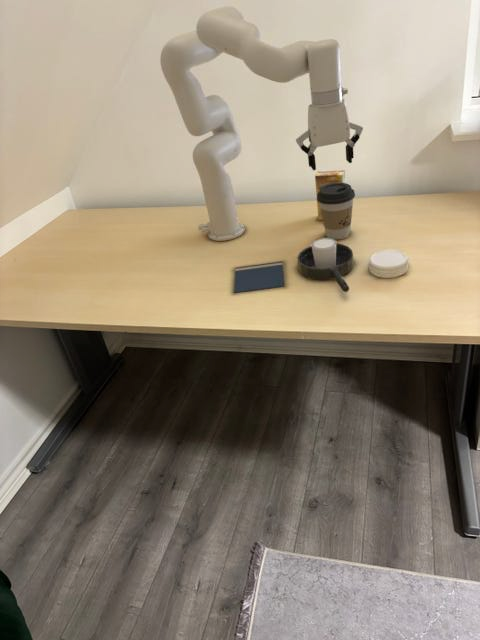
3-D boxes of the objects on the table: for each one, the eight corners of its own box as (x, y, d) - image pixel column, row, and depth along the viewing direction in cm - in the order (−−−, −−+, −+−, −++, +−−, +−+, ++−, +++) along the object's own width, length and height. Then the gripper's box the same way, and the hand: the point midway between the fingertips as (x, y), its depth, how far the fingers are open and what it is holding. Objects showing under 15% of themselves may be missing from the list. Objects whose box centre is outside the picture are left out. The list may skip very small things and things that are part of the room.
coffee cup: (339, 246, 149) (337, 198, 141) (312, 237, 157) (307, 191, 148) (364, 231, 154) (363, 184, 146) (336, 223, 162) (333, 178, 154)
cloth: (234, 293, 137) (233, 292, 137) (235, 268, 149) (235, 267, 148) (284, 286, 135) (284, 285, 135) (282, 262, 147) (282, 261, 147)
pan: (300, 283, 135) (299, 272, 133) (296, 257, 148) (295, 247, 146) (357, 276, 134) (357, 265, 132) (348, 250, 146) (348, 239, 144)
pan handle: (329, 272, 133) (329, 266, 132) (336, 271, 134) (335, 265, 133) (343, 293, 124) (342, 287, 123) (350, 292, 124) (350, 286, 123)
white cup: (335, 257, 143) (333, 235, 139) (340, 269, 137) (338, 246, 134) (311, 261, 144) (309, 240, 140) (315, 273, 138) (313, 251, 134)
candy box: (318, 220, 166) (314, 175, 158) (320, 215, 169) (317, 171, 161) (344, 220, 163) (342, 174, 154) (347, 214, 166) (344, 169, 158)
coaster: (392, 256, 139) (392, 245, 137) (415, 270, 131) (416, 259, 129) (361, 267, 137) (361, 256, 135) (383, 283, 129) (383, 271, 127)
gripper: (356, 87, 126) (359, 154, 136) (289, 101, 127) (296, 167, 136) (365, 92, 120) (367, 162, 130) (295, 107, 120) (302, 176, 130)
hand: (331, 165), depth 133 cm, fingers open, 9 cm apart
